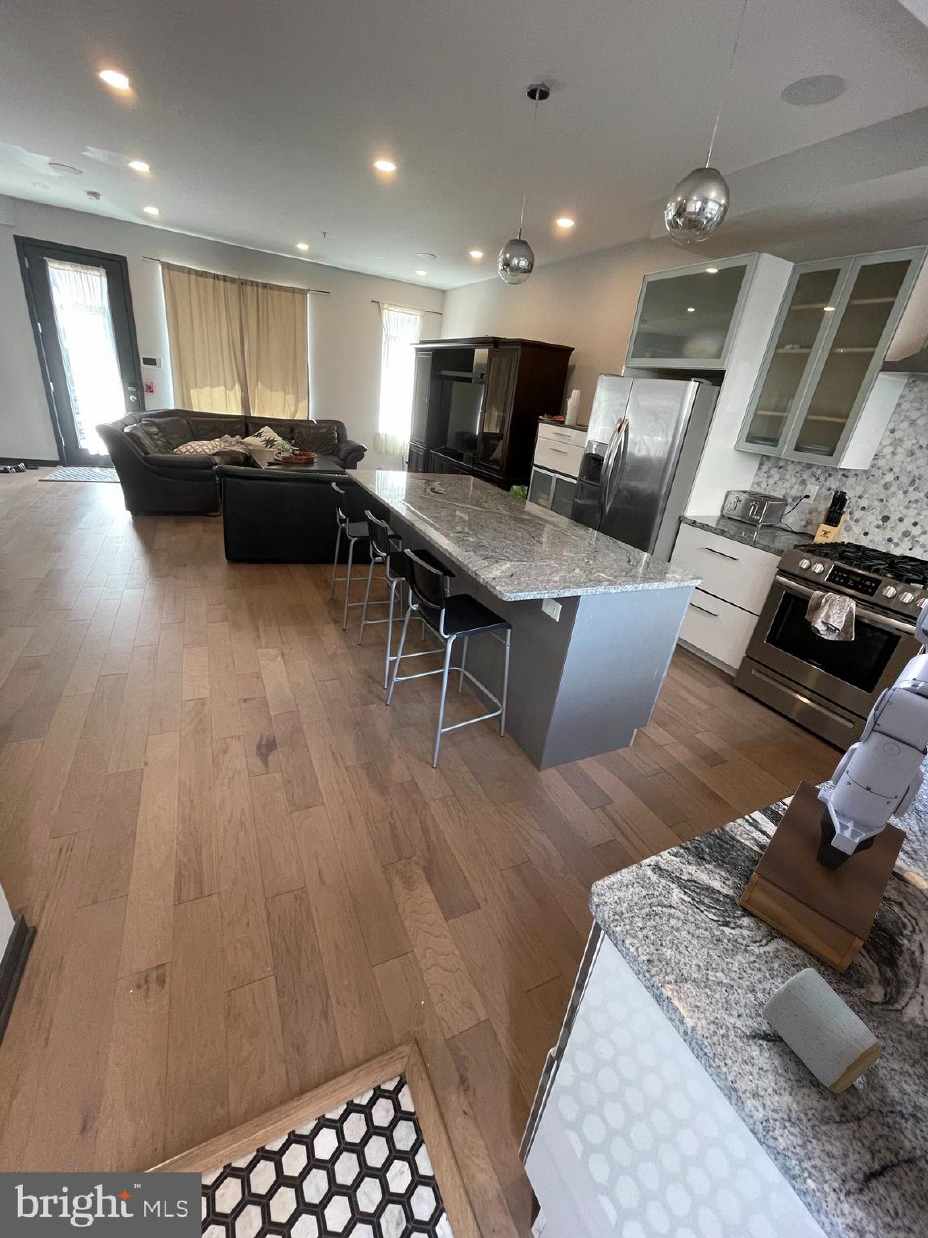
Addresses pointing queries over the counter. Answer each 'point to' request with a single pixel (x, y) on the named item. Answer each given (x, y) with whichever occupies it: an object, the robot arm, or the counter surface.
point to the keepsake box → (801, 923)
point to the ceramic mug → (822, 1030)
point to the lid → (829, 892)
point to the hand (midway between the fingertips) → (825, 863)
